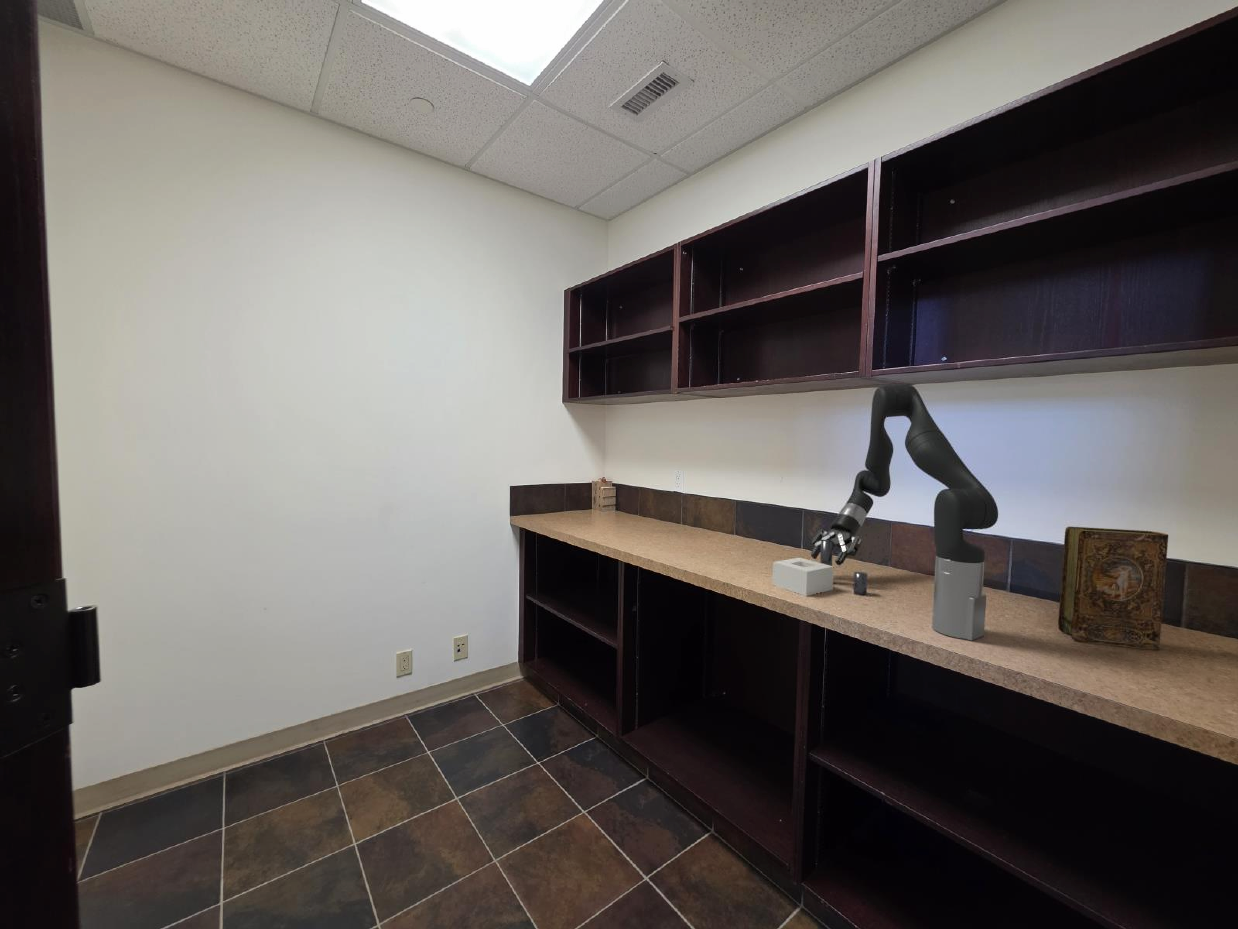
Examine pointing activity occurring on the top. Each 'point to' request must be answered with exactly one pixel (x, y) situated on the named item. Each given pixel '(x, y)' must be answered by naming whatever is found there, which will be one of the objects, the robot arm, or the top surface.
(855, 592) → the short pin
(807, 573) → the hole block
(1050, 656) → the top surface
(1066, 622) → the book
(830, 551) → the long pin
